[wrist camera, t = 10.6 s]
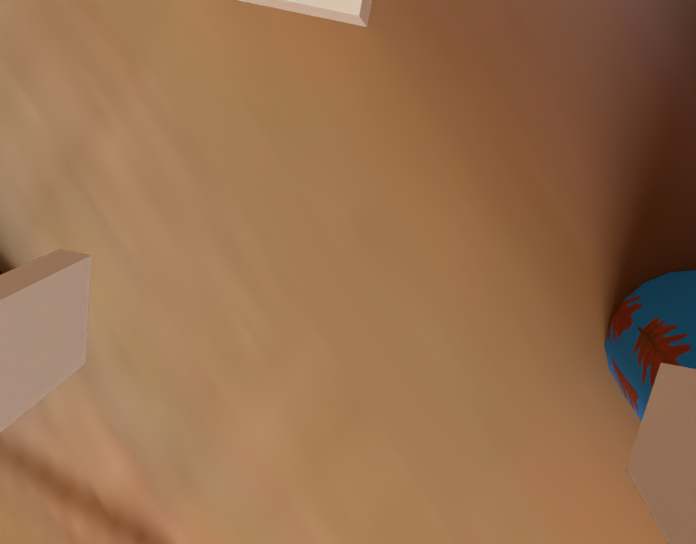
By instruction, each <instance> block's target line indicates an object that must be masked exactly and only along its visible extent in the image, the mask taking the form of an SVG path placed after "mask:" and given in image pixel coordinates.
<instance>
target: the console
mask: <svg viewBox="0 0 696 544" xmlns="http://www.w3.org/2000/svg"><path fill="white" fill-rule="evenodd" d="M239 1H243V2H248V3H253V4H258V5H263V6H268V7H272V8H277V9H282V10H287V11H292V12H297V13H301V14H306V15H311V16H316V17H321V18H325V19H330V20H335V21H340V22H345V23H350V24H354V25H359V26H364V27H367V24H368V19H369V14H370V9H371V4H372V0H239Z"/></svg>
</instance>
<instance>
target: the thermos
mask: <svg viewBox="0 0 696 544" xmlns="http://www.w3.org/2000/svg"><path fill="white" fill-rule="evenodd" d="M605 349H606V354H607V359H608V364H609V369H610V371H611V373H612V374H613V376H614V378H615V380H616V382H617V383H618V385H619V387H620V389H621V391H622V393H623V394H624V396H625V397H626V399H627V400H628V402H629V403H630V405H631V406H632V408H633V409H634V411H635V412H636V414H637V415H638V417H639V418H640V420H641V421H642V419H643V416H644V413H645V410H646V407H647V404H648V401H649V397H650V394H651V391H652V388H653V385H654V382H655V379H656V376H657V373H658V370H659V367H660V364H661V363H666V364H671V365H676V366H682V367H687V368H692V369H696V270H692V271H677V272H670V273H667V274H664V275H662V276H659V277H657V278H654V279H652V280H649V281H647V282H644V283H643V284H642V285H641V286H640V287H638V288H637V289H636V290H635V291H633V292H632V293H631V294H630V295H629V296H627V297H626V298H625V299H624V300H623V301H622V303H621V304H620V306H619V308H618V309H617V311H616V313H615V314H614V316H613V317H612V319H611V321H610V323H609V328H608V333H607V338H606V343H605Z"/></svg>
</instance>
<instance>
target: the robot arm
mask: <svg viewBox="0 0 696 544" xmlns="http://www.w3.org/2000/svg"><path fill="white" fill-rule="evenodd" d="M90 272H91V255H88V254H82V253H77V252H72V251H66V250H61V249H59V250H57V251H54V252H52V253H50V254H48V255H45V256H43V257H41V258H38V259H36V260H34V261H31V262H29V263H27V264H24V265H22V266H20V267H17V268H15V269H13V270H10V271H8V272H6V273H4V274H3V273H2V272H0V433H1V432H2V431H3V430H4V429H5V428H7V427H8V426H9V425H10V424H12V423H13V422H14V421H15V420H16V419H18V418H19V417H20V416H21V415H23V414H24V413H25V412H26V411H28V410H29V409H30V408H31V407H32V406H34V405H35V404H36V403H37V402H39V401H40V400H41V399H42V398H43V397H45V396H46V395H47V394H48V393H50V392H51V391H52V390H53V389H55V388H56V387H57V386H58V385H59V384H61V383H62V382H63V381H64V380H66V379H67V378H68V377H69V376H70V375H72V374H73V373H74V372H75V371H77V370H78V369H79V368H80V367H82V366H83V365H84V364H85V363H86V345H87V327H88V309H89V290H90ZM626 471H627V473H628V474H629V476H630V478H631V480H632V481H633V483H634V485H635V487H636V488H637V490H638V492H639V494H640V495H641V497H642V499H643V501H644V502H645V504H646V506H647V508H648V509H649V511H650V513H651V515H652V516H653V518H654V520H655V522H656V523H657V525H658V527H659V529H660V530H661V532H662V534H663V536H664V537H665V539H666V541H667V543H668V544H696V369H692V368H687V367H682V366H676V365H671V364H666V363H661V364H660V367H659V370H658V373H657V376H656V379H655V382H654V385H653V388H652V391H651V394H650V397H649V401H648V404H647V407H646V410H645V413H644V416H643V419H642V422H641V425H640V428H639V431H638V434H637V437H636V440H635V443H634V446H633V449H632V452H631V455H630V459H629V462H628V465H627V468H626Z"/></svg>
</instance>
